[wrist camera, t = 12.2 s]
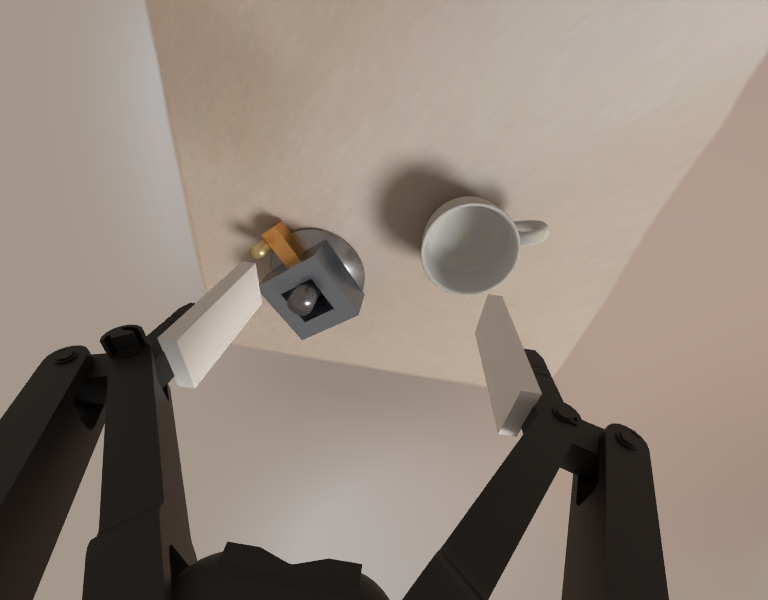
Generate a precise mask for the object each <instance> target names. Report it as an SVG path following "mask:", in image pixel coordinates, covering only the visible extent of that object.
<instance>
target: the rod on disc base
mask: <svg viewBox="0 0 768 600" xmlns="http://www.w3.org/2000/svg"><path fill="white" fill-rule="evenodd" d="M292 235H293V236H294V237H295V239H296V240H297V241H298V243H299V244H300V245H301V247H302V248H303V250H304V251H306V250H307V249H309V248H311V247H313V246H314V245H316V244H318V243H320V242H321V241H323V240H325V239H326V240H327V241H328V243H329V244H330V246H331V247H332V248H333V250H334V251H335V253H336V254H337V256H338V257H339V258H340V260H341V261H342V263H343V264H344V266H345V267H346V269H347V270H348V271H349V273H350V274H351V276H352V277H353V279H354V280H355V282H356V283H357V284H358V286H359V287H360V289H361V290H363V286H364V279H365V275H364V269H363V265H362V262H361V260H360V258H359V256H358V254H357V253H356V251H355V250H354V249H353V248H352V247H351V246H350V245H349V244H348V243H347V242H346V241H345V240H343V239H342V238H340V237H339V236H337V235H335V234H333V233H331V232H328V231H324V230H320V229H302V230H298V231H295V232H293V233H292ZM281 264H283V262H282V261H281V260H280V258H279V257H278V256H277V255H276V253H275V252H273V255H272V259H271V271H272V269H274V268H276V267H278V266H279V265H281ZM324 297H325V296H324V295H323V293H322V292H321V291H320V290H319V288H318V287H317V286H316V284H315V283H314V282H313V280H312V279H309V280H307V281H305V282H304V283H302V284H300V285H298V286H297V287H296V288H295V289H294V291H293V292H292V294H291V295H290V297H289V298H288V300H287V305H288V308H289V309H290V310H291V311H292V312H293V313H295V314H297V315H301V316H304V315H307V314H309V313H310V312H311V310H312V308H313V307H314V305H315V303H316V301H318V300H320V299H322V298H324Z"/></svg>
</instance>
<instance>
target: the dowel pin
mask: <svg viewBox="0 0 768 600" xmlns="http://www.w3.org/2000/svg"><path fill="white" fill-rule="evenodd" d="M271 250H272V248H271V247H270V246H269V245H268V243H267V242H266V241H265V240H264V238H263V239H262V240H261V241H260V242H258V243H257V244H256V245H255V246H254V247H252V248H251V249H250V254H251V256H252V257H253V258H254V259H256V260H261V259H263V258H264V257H265V256H266V255H267V254H268V253H269V252H270V251H271Z"/></svg>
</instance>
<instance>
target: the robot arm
mask: <svg viewBox="0 0 768 600" xmlns="http://www.w3.org/2000/svg"><path fill="white" fill-rule="evenodd" d="M261 304H262V299H261V293H260V287H259V281H258V275H257V268H256V263H251V262H244V261H242V262H241V263H240V264H239V265H238V266H237V267H236V268H235V269H233V270H232V271H231V272H230V273H229V274H228V275H227V276H226V277H225V278H223V279H222V280H221V281H220V282H219V283H218V284H217V285H216V286H215V287H213V288H212V289H211V290H210V291H209V292H208V293H207V294H206V295H205V296H204V297H202V298H201V299H200V300H199V301H198V302H197V303H196V304H195V303H189V304H187V305H185V306H183V307H181V308H179V309H178V310H177V311H176V312H174V313H173V314H172V315H171V317H168V318H167V319H166V320H165V322H163V323H162V324H160V325H159V326H158V327H157V328H156V329H155V330H153V331H152V332H151V333H150V334H149V335H148V336H146V335H145V333H144V331H143V329H142V327H140V326H138V325H125V326H121V327H117V328H114V329H112V330H110V331H108V332H107V333H105V334H104V335H103V336H102V337H101V339H100V343H101V344H102V346H103V348H104V350H105V351H106V353H105V354H94V355H91V354H90V352H89V350H88V349H87V348H86V347H84V346H70V347H65V348H63V349H59V350H57V351H55V352H53V353H52V354H50V355H48V356H47V357H46V358H45V359H44V360H43V361H42V362H41V364H40V365H39V366H38V368H37V369H36V371H35V372H34V373H33V375H32V376H31V378H30V379H29V381H28V382H27V383H26V385H25V386H24V387H23V389H22V390H21V392H20V393H19V394H18V396H17V397H16V399H15V400H14V401H13V403H12V404H11V405H10V407H9V408H8V410H7V411H6V412H5V414H4V415H3V417H2V418H1V420H0V600H33V598H34V595H35V593H36V591H37V588H38V586H39V583H40V581H41V578H42V576H43V573H44V571H45V569H46V566H47V564H48V561H49V559H50V556H51V554H52V551H53V549H54V547H55V544H56V542H57V539H58V536H59V534H60V532H61V529H62V527H63V524H64V522H65V520H66V517H67V514H68V512H69V510H70V507H71V505H72V502H73V500H74V497H75V495H76V493H77V490H78V488H79V485H80V482H81V480H82V478H83V475H84V473H85V470H86V468H87V466H88V463H89V460H90V458H91V456H92V453H93V451H94V448H95V446H96V443H97V441H98V438H99V436H100V434H101V431H102V428H103V426H104V424H105V434H104V451H103V468H102V486H101V503H100V521H99V532H98V535H97V537H95V538H94V539H92V540H90V542H89V545H88V547H87V552H86V559H85V573H84V584H83V596H82V600H389V598H388V597H387V595H386V594H385V593H384V591H383V590H382V589H381V588H380V587H379V586H378V585H377V584H376V583H375V582H374V581H373V580H372V579H370V578H369V577H367V576H366V575H364V574H362V573H361V569H362V564H357V563H352V562H346V561H339V560H334V559H324V560H318V561H312V562H306V563H300V564H289V563H287V562H285V561H283V560H281V559H280V558H278V557H276V556H274V555H273V554H271V553H269V552H267V551H266V550H264V549H262V548H260V547H255V546H250V545H244V544H238V543H232V542H227V544H226V546H225V549H224V551H223V552H219V553H216V554H213V555H210V556H208V557H205V558H203V559H200V560H199V561H197V558H196V554H195V551H194V548H193V545H192V541H191V536H190V529H189V522H188V515H187V507H186V500H185V493H184V486H183V479H182V472H181V464H180V458H179V449H178V442H177V435H176V428H175V420H174V413H173V406H172V399H171V392H170V387H169V385H168V383H169V382H170V380H171V379H172V378H173V377H174V378H175V380H176V382H177V384H178V386H183V387H189V388H196V387H197V385H198V384H199V383H200V381H201V380H202V379H203V378H204V376H205V375H206V374H207V372H208V371H209V370H210V369H211V367H212V366H213V365H214V363H215V362H216V361H217V360H218V359H219V357H220V356H221V355H222V353H223V352H224V351H225V350H226V348H227V347H228V346H229V345H230V343H231V342H232V341H233V339H234V338H235V337H236V336H237V334H238V333H239V332H240V331H241V329H242V328H243V327H244V325H245V324H246V323H247V322H248V320H249V319H250V318H251V317H252V315H253V314H254V313H255V311H256V310H257V309H258V308H259V306H260V305H261ZM475 335H476V339H477V343H478V348H479V352H480V356H481V361H482V365H483V370H484V374H485V378H486V383H487V387H488V391H489V396H490V400H491V404H492V408H493V413H494V418H495V421H496V426H497V430H498V434H503V435H510V436H517V435H518V433H519V432H520V430H521V428H522V431H523V436H522V437H521V439H520V440H519V441H518V443H517V444H516V445H515V447H514V448H513V450H512V451H511V452H510V454H509V455H508V456H507V458H506V459H505V461H504V462H503V463H502V465H501V466H500V467H499V469H498V470H497V472H496V473H495V474H494V476H493V477H492V479H491V480H490V481H489V483H488V484H487V485H486V487H485V488H484V490H483V491H482V492H481V494H480V495H479V497H478V498H477V499H476V501H475V502H474V503H473V505H472V506H471V508H470V509H469V510H468V512H467V513H466V514H465V516H464V518H463V519H462V520H461V521H460V523H459V524H458V526H457V527H456V528H455V530H454V531H453V533H452V534H451V535H450V537H449V538H448V539H447V541H446V542H445V544H444V545H443V546H442V547H441V549H440V550H439V551H438V552H437V553H436V554H435V555H434V557H433V558H432V560H431V561H430V562H429V564H428V565H427V566H426V568H425V569H424V570H423V572H422V573H421V575H420V576H419V577H418V579H417V580H416V582H415V583H414V584H413V586H412V587H411V588H410V590H409V591H408V593H407V594H406V595H405V597H404V598H403V599H402V600H488V599H489V597H490V595H491V593H492V591H493V589H494V588H495V586H496V584H497V582H498V580H499V579H500V576H501V575H502V573H503V571H504V569H505V567H506V565H507V564H508V562H509V560H510V558H511V556H512V554H513V552H514V551H515V549H516V547H517V545H518V543H519V541H520V540H521V538H522V536H523V534H524V532H525V531H526V528H527V527H528V525H529V523H530V521H531V519H532V518H533V516H534V514H535V512H536V510H537V508H538V506H539V505H540V503H541V501H542V499H543V497H544V495H545V494H546V492H547V490H548V488H549V486H550V484H551V483H552V481H553V479H554V477H555V475H556V473H557V471H558V469H559V468H563V469H565V470H567V471H569V472H571V473H573V482H572V493H571V504H570V515H569V525H568V537H567V547H566V558H565V569H564V580H563V590H562V600H669V597H668V589H667V581H666V574H665V566H664V559H663V551H662V543H661V535H660V529H659V520H658V513H657V505H656V499H655V491H654V483H653V475H652V467H651V459H650V452H649V448H648V446H647V444H646V442H645V441H644V440H643V438H642V437H641V436H640V435H638V434H637V433H636V432H635V431H633V430H632V429H630V428H628V427H626V426H624V425H621V424H610V425H608V426H607V427H606V428H605V429H603V428H600V427H598V426H595V425H593V424H590V423H588V422H585V421H583V420H582V419H581V417H580V415H579V414H578V413H577V411H576V410H575V409H573V408H572V407H571V406H570V405H568V404H566V403H564V402H563V400H562V398H561V396H560V393H559V392H558V389H557V387H556V385H555V383H554V381H553V379H552V377H551V374H550V372H549V370H548V369H547V366H546V364H545V362H544V359H543V358H542V357H541V356H540V355H539V354H538V353H537V352H536V351H535V350H529V349H523V346H522V344H521V341H520V339H519V336H518V334H517V331H516V329H515V327H514V324H513V322H512V319H511V317H510V314H509V312H508V309H507V307H506V305H505V302H504V300H503V297H502V296H497V295H489V294H488V296H487V299H486V302H485V305H484V308H483V311H482V314H481V317H480V320H479V322H478V325H477V328H476V331H475Z"/></svg>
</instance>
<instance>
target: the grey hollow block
mask: <svg viewBox="0 0 768 600" xmlns="http://www.w3.org/2000/svg"><path fill="white" fill-rule="evenodd" d="M261 236H262V237H263V238H264V240H265V241H266V242H267V243H268V245H269V246H270V247H271V248H272V250H273V251H274V252H275V253H276V255H277V256H278V257H279V258H280V260H281V261H282V262H283V264H281V265H279V266H278V267H276V268H274V269H272V271H271V272H270V273H269V274H268V275H267V276H266V277H265V278H264V279H263V280H262V282H261V283H260V284H259V287H260V293H261V294H262V295H263V296H264V297H265V299H266V300H267V301H268V302H269V303H270V304H271V305H272V306H273V308H274V309H275V310H276V311H277V312H278V313H279V314H280V316H281V317H282V318H283V319H284V320H285V321H286V322H287V323H288V325H289V326H290V327H291V328H292V329H293V330H294V331H295V333H296V334H297V335H298V336H299V337H300V338H301V339H302V340H303V339H306V338H308V337H310V336H312V335H315V334H317V333H319V332H321V331H324V330H326V329H328V328H331V327H333V326H335V325H337V324H340V323H342V322H344V321H346V320H349V319H351V318H353V317H355V316H358V315H359V312H360V308H361V305H362V301H363V298H364V293H363V292H362V290H361V289H360V287H359V286H358V284H357V283H356V282H355V280H354V279H353V277H352V276H351V274H350V273H349V271H348V270H347V269H346V267H345V266H344V264H343V263H342V261H341V260H340V258H339V257H338V256H337V254H336V253H335V251H334V250H333V248H332V247H331V246H330V244H329V243H328V241H327V240H326V239H325V240H323V241H321V242H320V243H318V244H316V245H314V246H313V247H311V248H309V249H307V250H306V251H304V250H303V248H302V247H301V245H300V244H299V243H298V241H297V240H296V239H295V237H294V236H293V235H292V233H291V232H290V231H289V229H288V228H287V227H286V225H285V224H284V223H283V221H280V222H279V223H277V224H276V225H274V226H273V227H271V228H269V229H268V230H267V231H266V232H264V233H263V234H262V235H261ZM309 279H312V280H313V282H314V283H315V284H316V286H317V287H318V288H319V290H320V291H321V292H322V293H323V295H324V296H325V297H324V298H322V299H320V300H318V301H316V303H315V305H314V307H313V308H312V310H311V312H310V313H309V314H307V315H304V316H301V315H297V314H295V313H293V312H292V311H291V310H290V309H289V308H288V305H287V300H288V298H289V297H290V295H291V294H292V292H293V291H294V289H295V288H296V287H297V286H298V285H300V284H302V283H304V282H305V281H307V280H309Z"/></svg>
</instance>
